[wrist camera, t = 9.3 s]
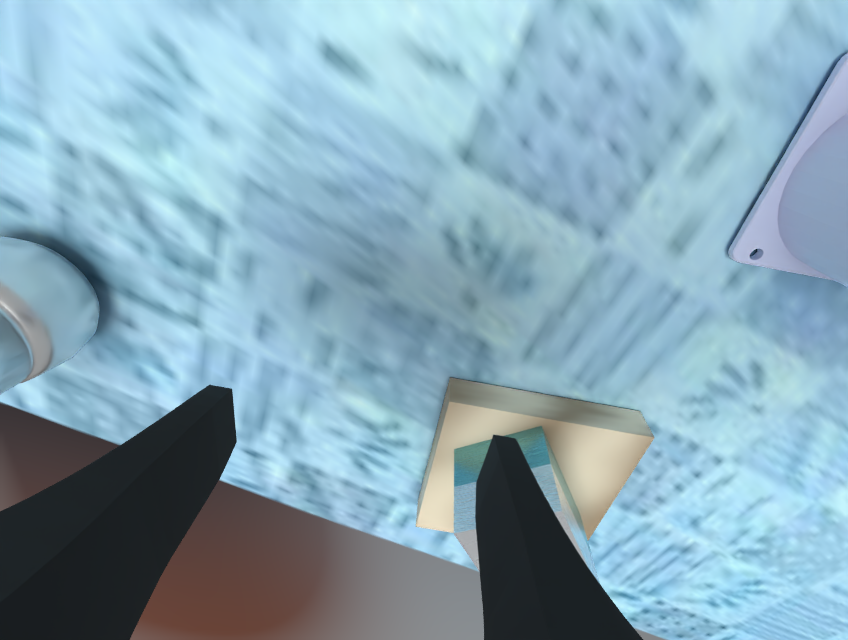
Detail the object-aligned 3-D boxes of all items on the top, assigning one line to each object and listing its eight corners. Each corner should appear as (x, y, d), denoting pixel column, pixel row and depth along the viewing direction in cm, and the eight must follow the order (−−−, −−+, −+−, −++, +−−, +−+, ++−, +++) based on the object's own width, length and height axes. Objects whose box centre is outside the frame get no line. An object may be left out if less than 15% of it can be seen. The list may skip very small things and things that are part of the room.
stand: (640, 411, 24) (654, 437, 22) (572, 525, 29) (579, 553, 28) (449, 377, 23) (449, 401, 22) (418, 499, 29) (415, 526, 27)
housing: (580, 514, 26) (605, 603, 21) (502, 530, 27) (511, 617, 23) (541, 425, 22) (561, 510, 18) (454, 449, 24) (453, 533, 19)
